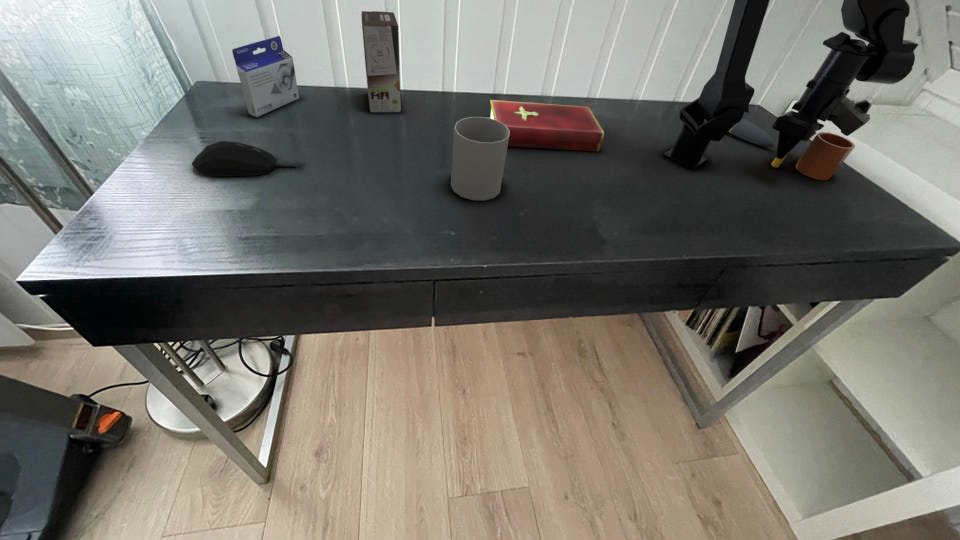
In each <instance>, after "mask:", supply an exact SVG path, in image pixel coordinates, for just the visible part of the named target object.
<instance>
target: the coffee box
mask: <svg viewBox="0 0 960 540" xmlns="http://www.w3.org/2000/svg"><path fill="white" fill-rule="evenodd" d="M361 29H362V30H361V31H362V42H363V53H364V64H365V65H364V66H365V75H366V77H365V78H366V86H367V95H368V106H369V111H370V113H400V112H401V110H402V103H401V101H402V100H401V74H400V73H401V72H400V69H401V68H400V67H401V66H400V38H399V35H400V34H399V24H398V21H397V17H396V15H395V12H393V11H377V10H376V11H375V10H373V11H368V10H367V11H365V10H362V11H361Z"/></svg>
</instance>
